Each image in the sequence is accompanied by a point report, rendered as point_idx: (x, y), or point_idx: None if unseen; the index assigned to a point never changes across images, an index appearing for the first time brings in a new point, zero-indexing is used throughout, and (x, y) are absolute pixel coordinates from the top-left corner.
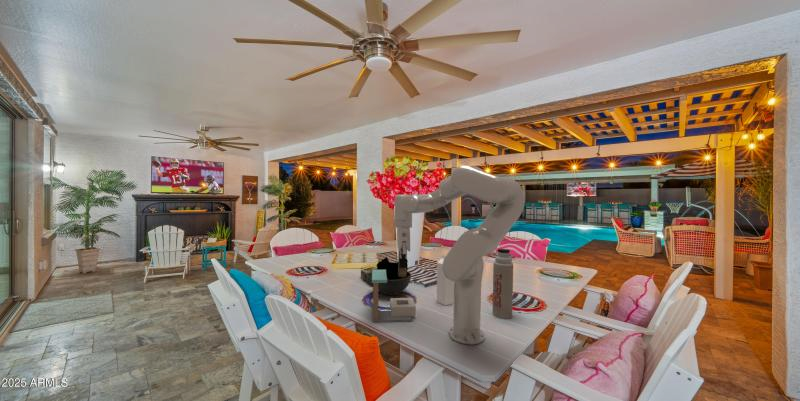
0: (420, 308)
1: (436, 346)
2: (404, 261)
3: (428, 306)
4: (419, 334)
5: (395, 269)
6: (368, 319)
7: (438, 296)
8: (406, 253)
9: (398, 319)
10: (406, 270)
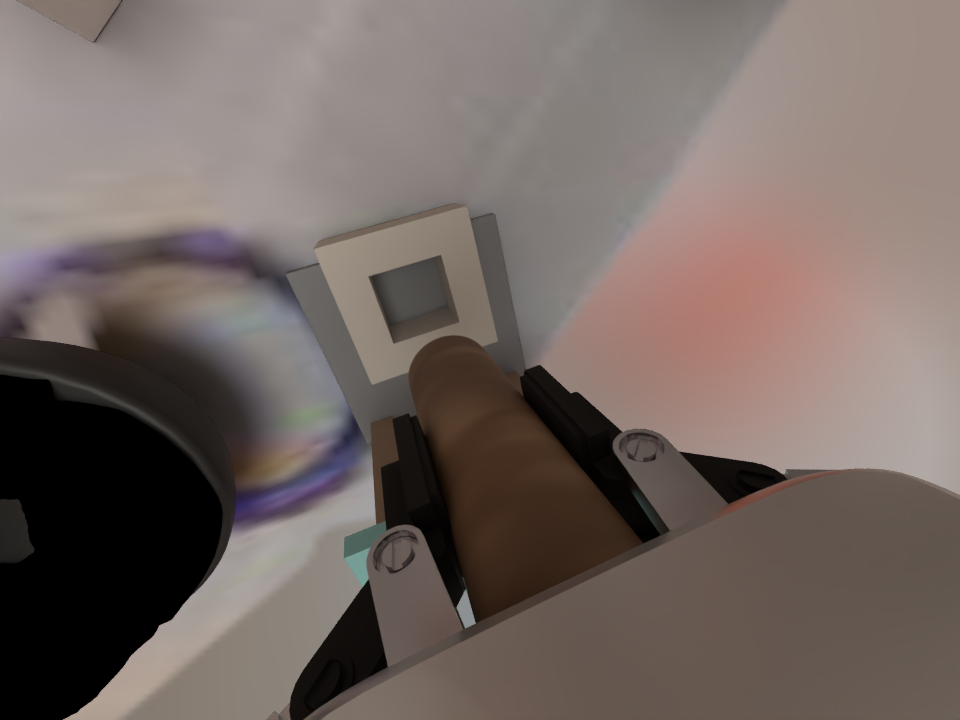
0: (301, 185)
1: (698, 76)
2: (609, 429)
3: (239, 125)
4: (608, 164)
5: (97, 521)
6: None
7: (70, 1)
8: (714, 495)
9: (505, 286)
10: (471, 358)
